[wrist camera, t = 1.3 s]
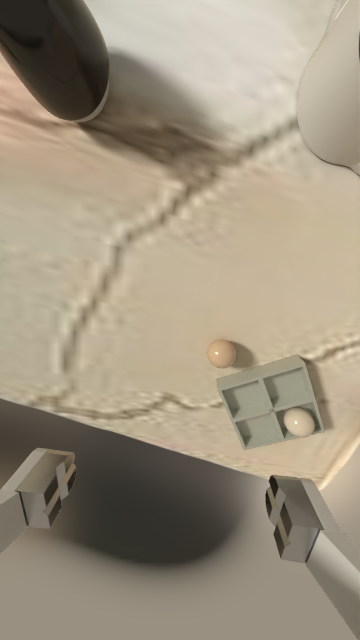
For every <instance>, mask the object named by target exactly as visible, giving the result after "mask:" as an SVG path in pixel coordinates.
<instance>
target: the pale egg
mask: <svg viewBox="0 0 360 640" xmlns="http://www.w3.org/2000/svg"><path fill="white" fill-rule="evenodd" d="M284 424H285V426H286V428H287V429H288V431H289V432H290V433H292V434H293V435H295V436H297V437H307V436H309V435H311V434H312V433H313V431H314V427H315V424H314V420H313V418H312V416H311V415H310V414H309V413H308V412H307V411H305V410H304V409H301V408H297V407H295V408H290V409H289V410H287V411H286V413H285V415H284Z"/></svg>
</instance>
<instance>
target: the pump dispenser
mask: <svg viewBox="0 0 360 640" xmlns="http://www.w3.org/2000/svg"><path fill="white" fill-rule="evenodd" d="M0 53H1V54H2V56H3V57H4V59H5V60H6V62H7V63H8V64H9V66H10V67H11V69H12V70H13V71H14V73H15V74H16V75H17V77H18V78H19V79H20V81H21V82H22V83H23V84H24V86H25V87H26V88H27V89H28V91H29V92H30V93H31V94H32V96H33V97H34V98H35V99H36V100H37V101H38V102H39V103H40V104H41V105H42V106H43V107H44V108H45V109H46V110H47V111H48V112H50V113H51V114H53V115H54V116H56V117H58V118H60V119H64V120H69V121H73V122H86V121H89V120H91V119H93V118H95V117H96V116H97V115H98V114H99V113H100V112H101V110H102V109H103V107H104V105H105V103H106V100H107V97H108V93H109V84H110V76H109V59H108V52H107V48H106V44H105V41H104V38H103V36H102V34H101V31H100V29H99V27H98V25H97V23H96V21H95V19H94V17H93V15H92V14H91V12H90V10H89V8H88V7H87V5H86V4H85V2H84V0H0Z"/></svg>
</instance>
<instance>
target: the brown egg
mask: <svg viewBox="0 0 360 640" xmlns="http://www.w3.org/2000/svg"><path fill="white" fill-rule="evenodd" d="M208 359H209V361H210V362H211V364H212V365H214V366H215V367H218V368H227V367H230V366H231V365H232V364H233V363H234V362H235V359H236V349H235V347H234V346H233V345H232V344H231V343H230V342H229V341H226V340H217V341H215V342H213V343H212V344H211V345H210V346H209V349H208Z"/></svg>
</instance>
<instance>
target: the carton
mask: <svg viewBox="0 0 360 640" xmlns="http://www.w3.org/2000/svg"><path fill="white" fill-rule="evenodd" d="M216 382H217V389H218V391H219V394H220V396H221V398H222V401H223V403H224V405H225V408H226V410H227V412H228V414H229V417H230V419H231V421H232V424H233V426H234V428H235V430H236V433H237V435H238V437H239V440H240V442H241V444H242V446H243V449H244V450H247V449H251V448H256V447H260V446H264V445H269V444H273V443H278V442H282V441H286V440H291V439H295V438H299V437H297V436H295V435H293V434H292V433H290V432H289V431H288V429H287V428H286V426H285V424H284V415H285V413H286V411H287V410H289V409H290V408H295V407H297V408H301V409H304V410H305V411H307V412H308V413H309V414H310V415H311V416H312V418H313V420H314V424H315V427H314V431H313V433H312V434H311V435H313V434H317V433H321V432H325V430H324V427H323V423H322V420H321V416H320V413H319V410H318V406H317V403H316V399H315V396H314V392H313V389H312V385H311V382H310V378H309V375H308V371H307V368H306V364H305V362H304V361H303V360H302V359H301V358H300V357H299V356H298V355H294V356H290V357H287V358H284V359H281V360H277V361H274V362H271V363H268V364H264V365H261V366H258V367H255V368H251V369H248V370H245V371H242V372H238V373H235V374H232V375H229V376H225V377H222V378H219V379H216Z"/></svg>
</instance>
